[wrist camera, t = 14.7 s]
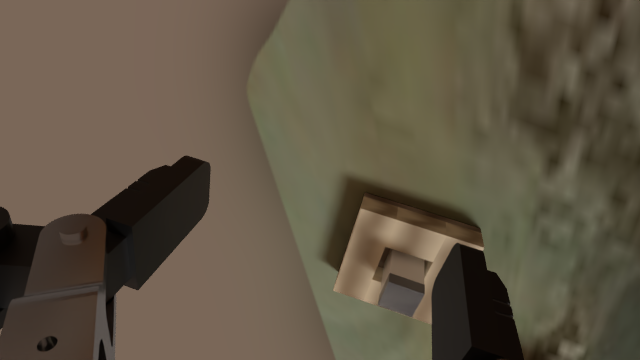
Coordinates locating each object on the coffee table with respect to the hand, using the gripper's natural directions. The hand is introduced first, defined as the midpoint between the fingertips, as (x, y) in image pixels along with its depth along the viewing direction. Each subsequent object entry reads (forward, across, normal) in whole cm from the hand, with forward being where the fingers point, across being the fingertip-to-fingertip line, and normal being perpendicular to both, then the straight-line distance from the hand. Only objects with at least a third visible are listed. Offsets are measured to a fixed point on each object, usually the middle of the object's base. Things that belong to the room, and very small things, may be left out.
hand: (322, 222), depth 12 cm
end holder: (+34, -10, +28) cm, 45 cm away
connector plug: (+33, -10, +28) cm, 45 cm away
